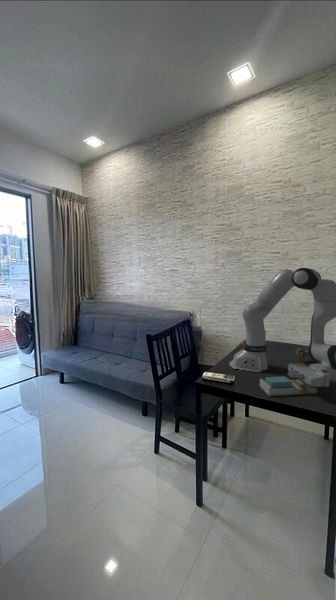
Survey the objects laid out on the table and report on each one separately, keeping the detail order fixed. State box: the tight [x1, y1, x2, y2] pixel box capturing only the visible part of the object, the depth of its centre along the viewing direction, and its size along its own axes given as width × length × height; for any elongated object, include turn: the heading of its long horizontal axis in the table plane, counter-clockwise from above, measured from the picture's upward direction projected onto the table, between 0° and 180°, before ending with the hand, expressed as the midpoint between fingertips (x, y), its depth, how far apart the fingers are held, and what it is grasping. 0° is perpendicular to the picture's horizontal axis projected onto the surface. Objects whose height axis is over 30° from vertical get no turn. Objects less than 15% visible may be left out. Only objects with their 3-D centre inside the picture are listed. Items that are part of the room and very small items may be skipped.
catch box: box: [259, 378, 296, 397], centre depth 122 cm, size 12×10×4 cm
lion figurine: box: [296, 348, 315, 363], centre depth 161 cm, size 15×5×9 cm, turn 116°
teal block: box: [264, 375, 292, 389], centre depth 122 cm, size 5×6×10 cm
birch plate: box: [290, 378, 319, 395], centre depth 123 cm, size 11×10×2 cm
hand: (289, 374), depth 122 cm, fingers closed
